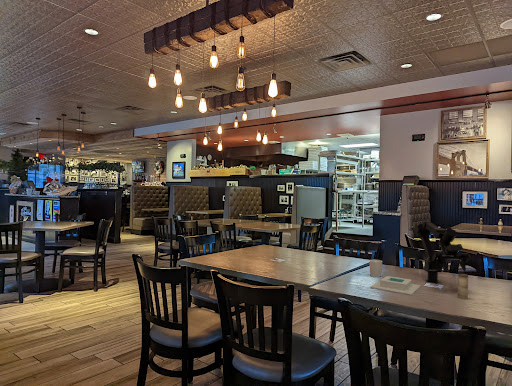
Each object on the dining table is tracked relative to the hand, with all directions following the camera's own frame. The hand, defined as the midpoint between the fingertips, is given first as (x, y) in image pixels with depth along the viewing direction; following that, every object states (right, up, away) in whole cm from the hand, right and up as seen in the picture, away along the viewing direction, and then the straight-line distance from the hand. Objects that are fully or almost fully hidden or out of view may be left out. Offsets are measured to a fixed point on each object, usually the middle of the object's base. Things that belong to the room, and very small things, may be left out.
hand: (456, 270), depth 191 cm
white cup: (-31, -12, +38) cm, 50 cm away
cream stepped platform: (-28, -12, +11) cm, 33 cm away
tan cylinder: (-1, -13, -7) cm, 14 cm away
